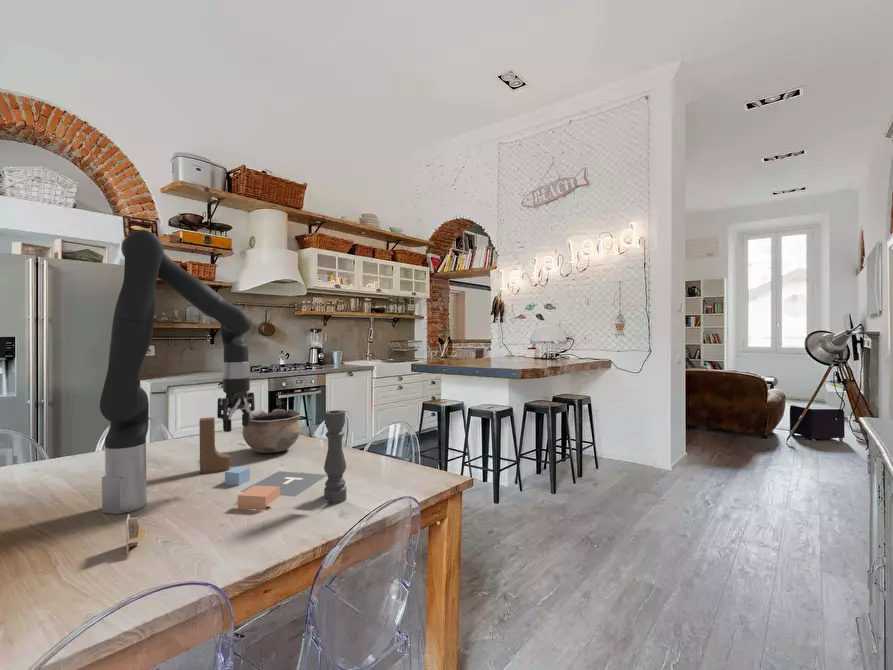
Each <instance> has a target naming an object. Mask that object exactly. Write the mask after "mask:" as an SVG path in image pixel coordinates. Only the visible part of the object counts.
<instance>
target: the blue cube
mask: <svg viewBox="0 0 893 670" xmlns="http://www.w3.org/2000/svg"><path fill="white" fill-rule="evenodd" d="M250 471H251V470H250V468H249V467H239V466H236V467H232V468H231V469H229V470H225V471H224V484H225V485H226V486H235V487H239V486H242V485H243V484H245V483H248V482H250V481H251V472H250Z"/></svg>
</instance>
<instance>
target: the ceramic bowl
mask: <svg viewBox="0 0 893 670" xmlns="http://www.w3.org/2000/svg"><path fill="white" fill-rule="evenodd" d="M301 416H302V413H301V412H300V411H298V410H296V409H295V410H294V409H290V408H289V409H287V411H286V410H285V409H283V408H279V409H275V408H274V409H273V410H272V411H271V412H270V413H267V412H265V411H264V410H257V411H256V410H254V411H251V413H250V425H249V426H243V425H242V426H243V427H242V437H243V439H244V441H245V442H246V444H247V445H248V447H250V448H251V449H252V450H253V451H255V452H257V453H259V454H273V453H281V452H284V451H287V450H288V449H290V448H291V447H292V446H293V445H294V444H295V443H296V441H298V438H299V437H300V436H301V434H302V433H301V432H302V426H301V425H302V424H301V421H300V418H301Z"/></svg>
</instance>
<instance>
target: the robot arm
mask: <svg viewBox="0 0 893 670" xmlns="http://www.w3.org/2000/svg"><path fill="white" fill-rule="evenodd" d="M120 250H121V253H122V255H123V257H124V268H123V269H124V271H123V281H122V285H121V289H120V291H119V294H118V297H117V300H116V304H115V307H114V312H113V318H112V325H111V334H110V335H111V336H110V344H109V354H108V366H107V371H106V375H105V380H104V383H103V384H104V385H103V388H102V390H101V391H102V392H101V396H100V401H99V411H100V413H101V415H102V416H103V418H104V419H106V420H107V421H108V422H109V429H108V432H107V433H106V435H105V438H104V463H105V464H104V466H105V467H104V468H105V469H104V470H105V471H104V473H105V475H103V476H102V477H101V511H102V513H106V514H115V515H123V514H125V513H129V512H134V511H137V510H140V509H142V508H144V507H146V506H147V503H148V501H147V500H148V499H147V496H148V495H147V493H148V490H147V489H148V488H147V486H148V485H147V433H148V432H149V431H148V430H149V419H150V417H149V415H150V413H149V411H150V407H149V406H150V402H149V396H148V394H147V392H146V390H144V389H143V388H142V387H141V386H139V378H140V371H141V368H142V365H143V362H144V360H145V358H146V355H147V354H148V351H149V348H150V345H151V343H152V338H153V333H154V324H155V315H156V314H155V313H156V312H155V311H156V289H157V288H156V286H157V281H158V279H159V280H160V281H162V282H163V283H164V284H166V285H167V286H169V287H170V288H171V289H173V290H174V291H175V292H176V293H177V294H178V295H180V296H181V297H182V298H183V299H185V300H186V301H187V302H189V303H190V304H191V305H192V306H194V307H195V308H196V309H197V310H199V311H200V312H201V313H203V314H204V315H206V316H208V317H210V318H212V319H214V320H215V321H217V322H219V323H220V335H221V341H222V344H223V345H222V346H223V364H222V365H223V366H222V392H223V393H225V397H218V399H217V411H216V412H217V413H216V414H217V416H216V417H217V419H221V420H222V429H223V432H224V433H230V432H232V417H233V414H235V413H236V412H237V410H240V411H241V413H242V414H241V424H242V426H249V425H250V413H251V412H255V411H256V410H255V409H256V408H255V406H256V405H255V393H254V392H250V390H251V388H250V387H251V382H250V380H251V379H250V378H251V377H250V372H251V371H250V364H249V345H248V344H247V343H246V342H245V341H246V340H245V334H247V333H248V332H249V330H250V329H251V326H252V321H251V319H250V316H249V315H248V314H247V313H246V312H244V311H243V310H242V309H240V308H239V307H238V306H236V305H234V304H232V303H231V302H229V301H228V300H226V299H224V298H223V297H222V295H220V294H219V293H218V292H216V291H215V289H213V288H212V287H210V285H208V284H207V283H205V281H202V280H201V279H199V278H198V277H196V276H194V274H191V273H190V272H188V271H186V270H185V269H184V268H182V267H181V266H180V265H179V264H178V263H176V262H174V260H173V259H172V258H170V256H168V255H167V254H166V253H165V248H164V244H163V242H162V240H161V239H160V238H159V237H158V236H157V235H156V234H155V233H153V232H151V231H149V230H138V231H137V230H136V231H133V232H131V233H130V234H128V235H127V236H126V237H125V238H124V239H123V241H122V242H121V248H120Z"/></svg>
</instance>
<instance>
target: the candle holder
mask: <svg viewBox="0 0 893 670" xmlns="http://www.w3.org/2000/svg"><path fill="white" fill-rule="evenodd" d="M345 423H346V411H344V410H339V409H337V410H328V411H325V412H324V425H325V427H326V430H327V432H326V433H325V437H327V447H328V448H327V453H326V457H325V460H324V466H323V469H324V472H325V475H327V476H326V477H327V480H326V481H325V483H324V485H325V486H324V488H323V497H324V499H326V500H328V501H327V502H326V503H327V504H334V505H335V504H340V503H344V502H346V500H347V493H348V492H347V486H346V483H347V482H346V480H345V479H344V473H345V472H346V469H347V463H346V458H345V453H344V450H343V438H344V436H345V432H344V431H343V429H344V427H345Z"/></svg>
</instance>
